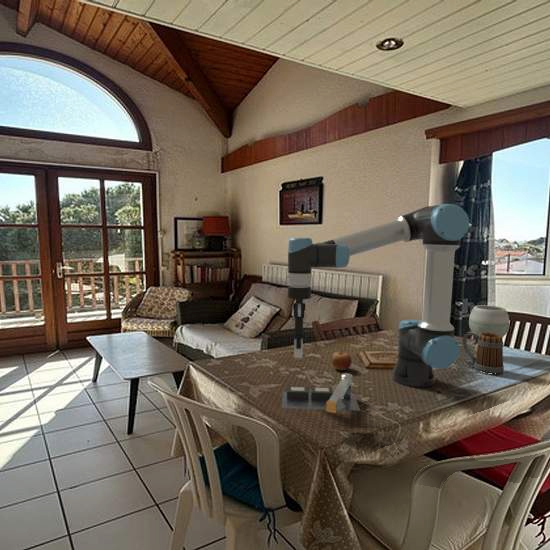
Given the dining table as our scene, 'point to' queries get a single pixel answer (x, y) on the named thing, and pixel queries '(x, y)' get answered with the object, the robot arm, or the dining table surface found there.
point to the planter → (489, 320)
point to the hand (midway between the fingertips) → (298, 357)
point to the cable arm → (339, 393)
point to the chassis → (321, 402)
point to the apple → (341, 360)
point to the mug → (486, 352)
